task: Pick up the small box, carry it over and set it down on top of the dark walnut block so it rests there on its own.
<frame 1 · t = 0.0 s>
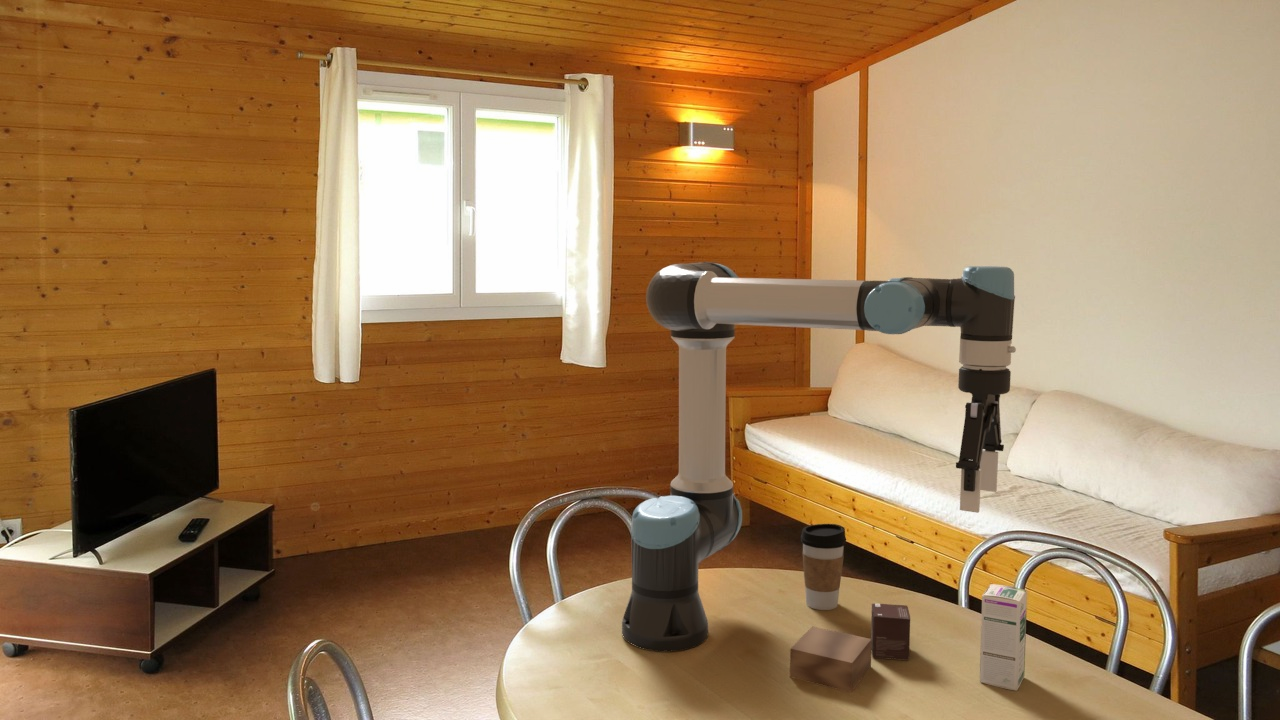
hand: (978, 500, 146), 28 cm above the table, fingers open, 13 cm apart
coffee cup: (821, 605, 177), on the table
syrup box: (1001, 681, 146), on the table
walnut block: (830, 673, 149), on the table
box: (889, 653, 156), on the table
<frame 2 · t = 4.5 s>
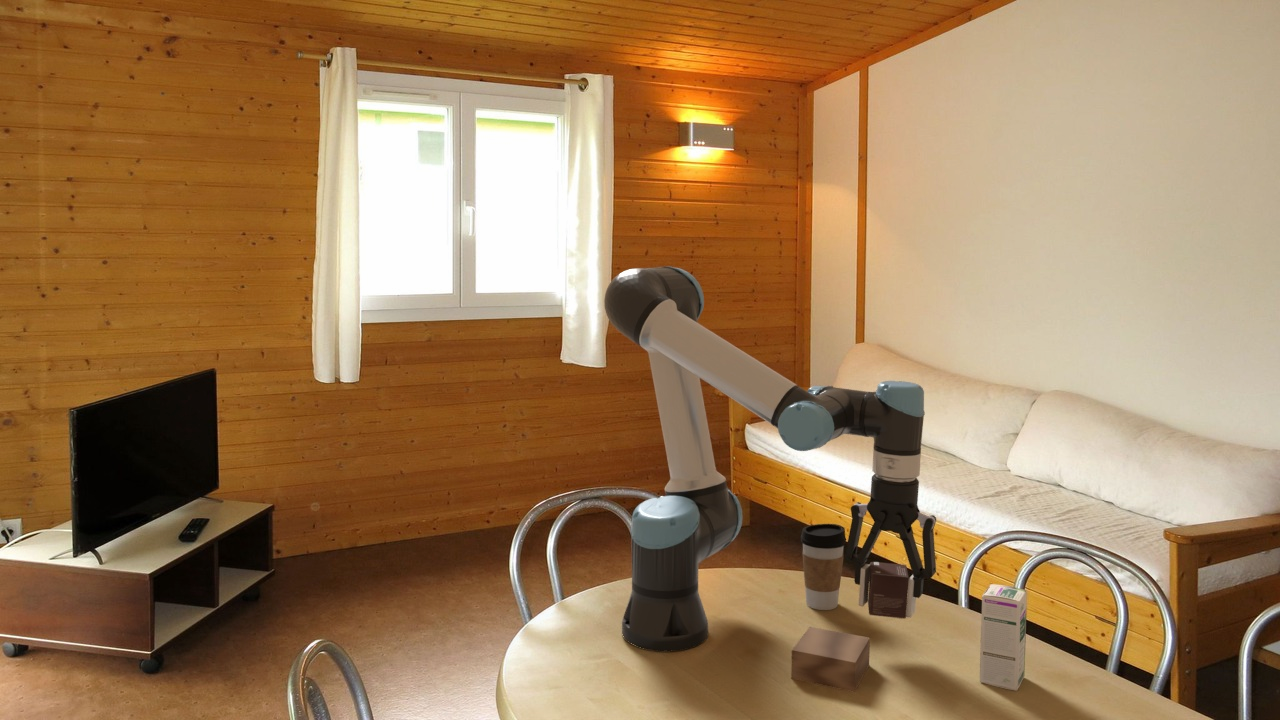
hand: (886, 608, 156), 7 cm above the table, fingers closed on box, 7 cm apart
box: (886, 611, 156), point 7 cm above the table, touching gripper
everything else where it was.
when the fingers open (6 cm above the table, at t = 8.2 s): box stays where it is, resting on walnut block.
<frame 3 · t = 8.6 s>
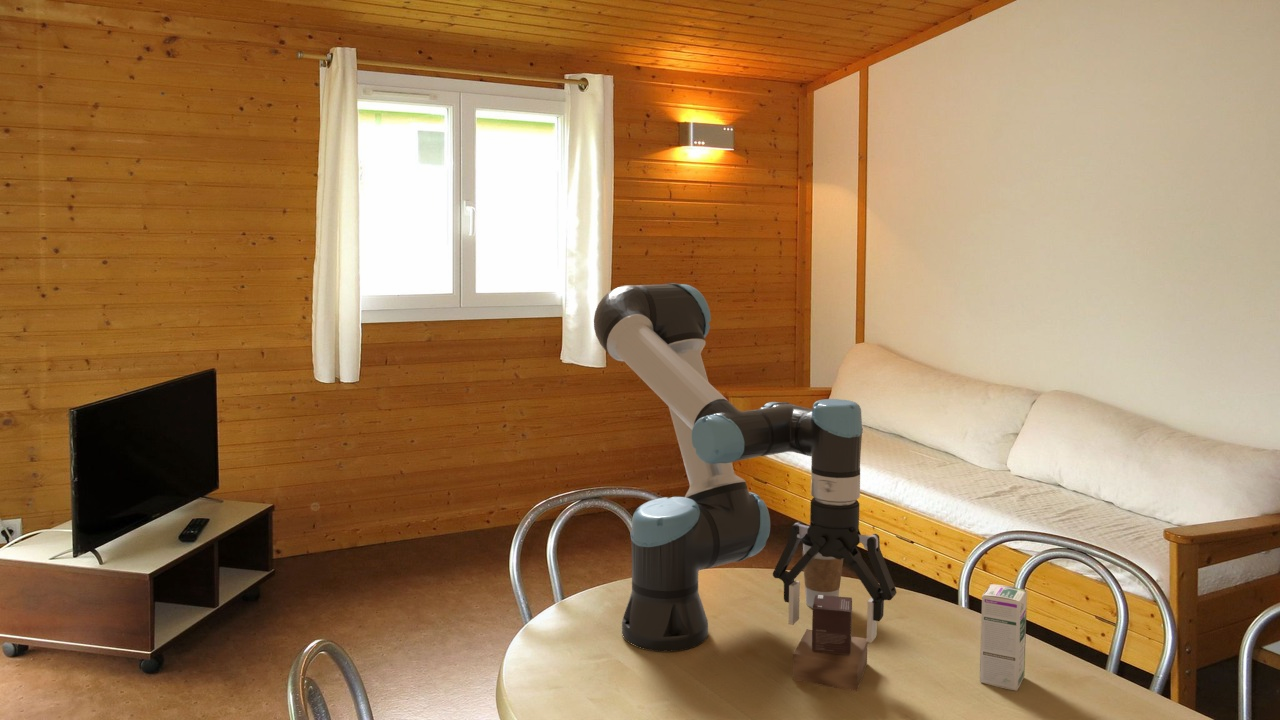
hand: (831, 630, 148), 7 cm above the table, fingers open, 12 cm apart
walnut block: (830, 675, 149), on the table, touching box
box: (831, 647, 148), point 4 cm above the table, touching walnut block
everything else where it was.
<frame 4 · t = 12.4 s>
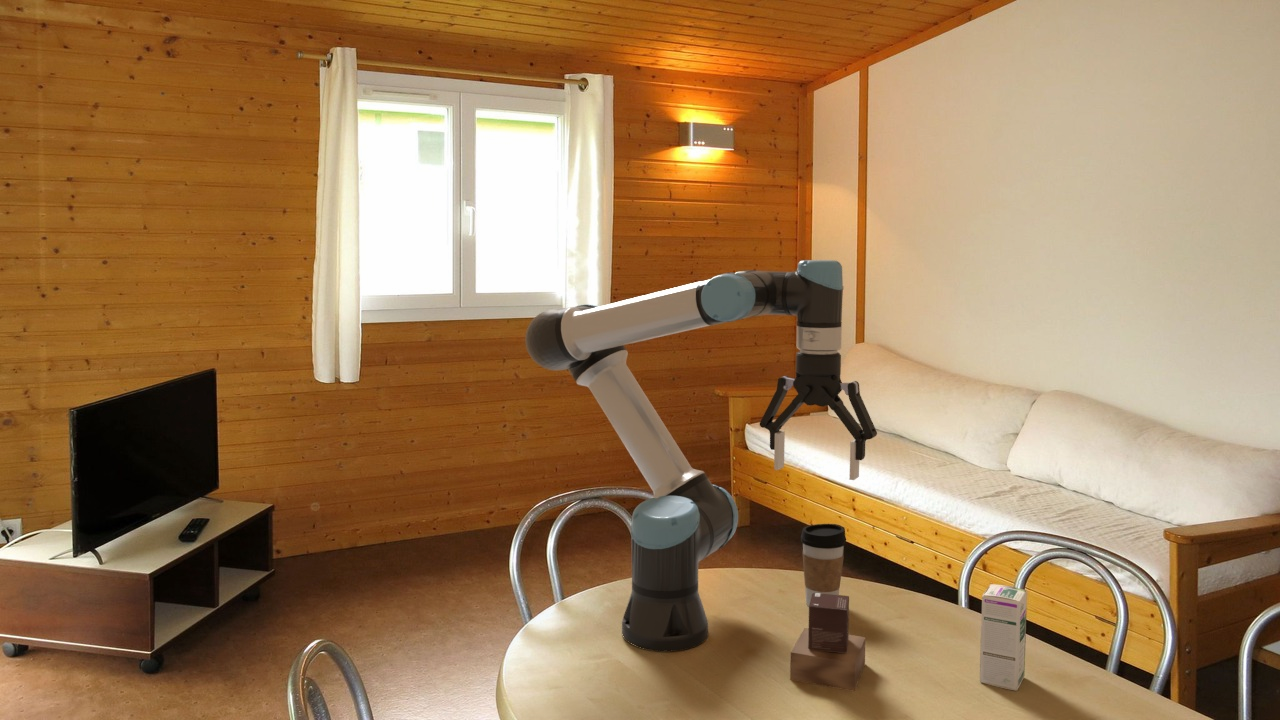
hand: (815, 473, 161), 29 cm above the table, fingers open, 13 cm apart
nothing on the table moved.
at the end: box inside the target area on the walnut block (0.1 cm from its centre), point 4.8 cm above the walnut block's base; box tilted 0°; the gripper is holding nothing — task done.
